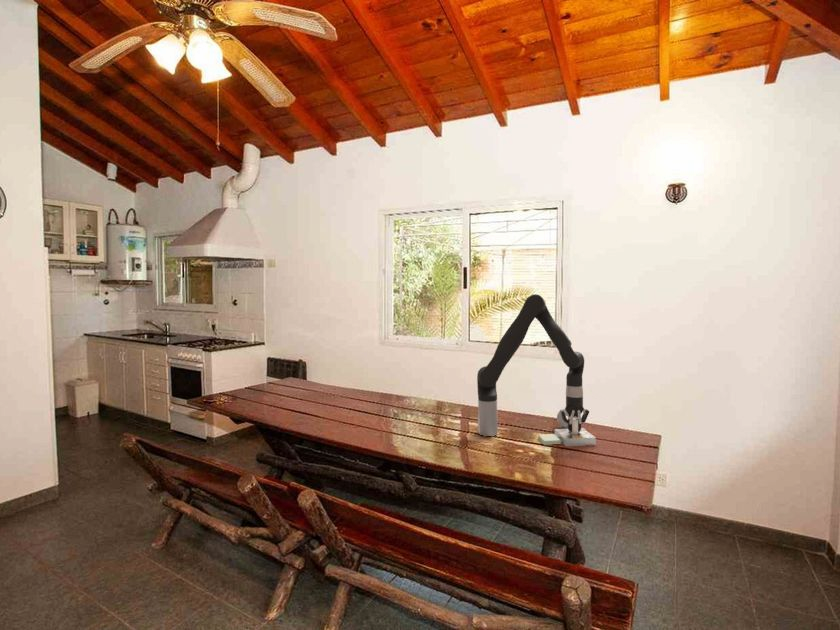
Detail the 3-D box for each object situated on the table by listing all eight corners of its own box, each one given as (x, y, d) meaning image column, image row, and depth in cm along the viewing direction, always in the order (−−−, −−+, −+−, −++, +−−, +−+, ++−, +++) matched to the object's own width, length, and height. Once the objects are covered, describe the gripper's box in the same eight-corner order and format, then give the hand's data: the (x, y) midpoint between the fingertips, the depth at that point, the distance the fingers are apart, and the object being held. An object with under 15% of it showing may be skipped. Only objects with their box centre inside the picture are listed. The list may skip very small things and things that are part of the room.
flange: (565, 446, 205) (565, 438, 204) (554, 436, 218) (554, 428, 218) (595, 445, 205) (595, 437, 205) (583, 435, 219) (583, 427, 219)
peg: (572, 437, 210) (572, 420, 209) (569, 435, 213) (569, 418, 213) (579, 437, 210) (579, 420, 210) (576, 435, 213) (576, 418, 213)
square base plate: (544, 445, 207) (544, 440, 207) (538, 438, 216) (538, 434, 215) (560, 444, 207) (560, 440, 207) (553, 438, 216) (553, 433, 216)
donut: (555, 427, 232) (555, 408, 231) (558, 425, 234) (558, 406, 234) (575, 431, 225) (575, 411, 225) (577, 429, 228) (577, 409, 228)
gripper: (562, 397, 206) (562, 434, 208) (592, 396, 207) (592, 433, 208) (556, 393, 214) (556, 429, 215) (585, 392, 215) (585, 428, 216)
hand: (574, 431), depth 212 cm, fingers closed on peg, 3 cm apart
